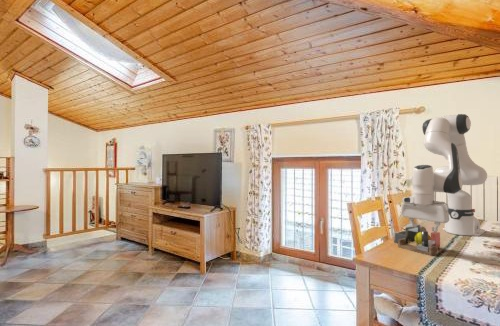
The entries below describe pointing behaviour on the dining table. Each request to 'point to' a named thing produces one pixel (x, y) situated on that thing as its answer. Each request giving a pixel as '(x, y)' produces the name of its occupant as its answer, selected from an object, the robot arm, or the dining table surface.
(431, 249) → the track
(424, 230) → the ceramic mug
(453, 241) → the dining table surface
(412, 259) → the dining table surface
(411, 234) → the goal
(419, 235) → the tennis ball
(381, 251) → the dining table surface
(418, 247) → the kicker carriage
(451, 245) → the dining table surface
